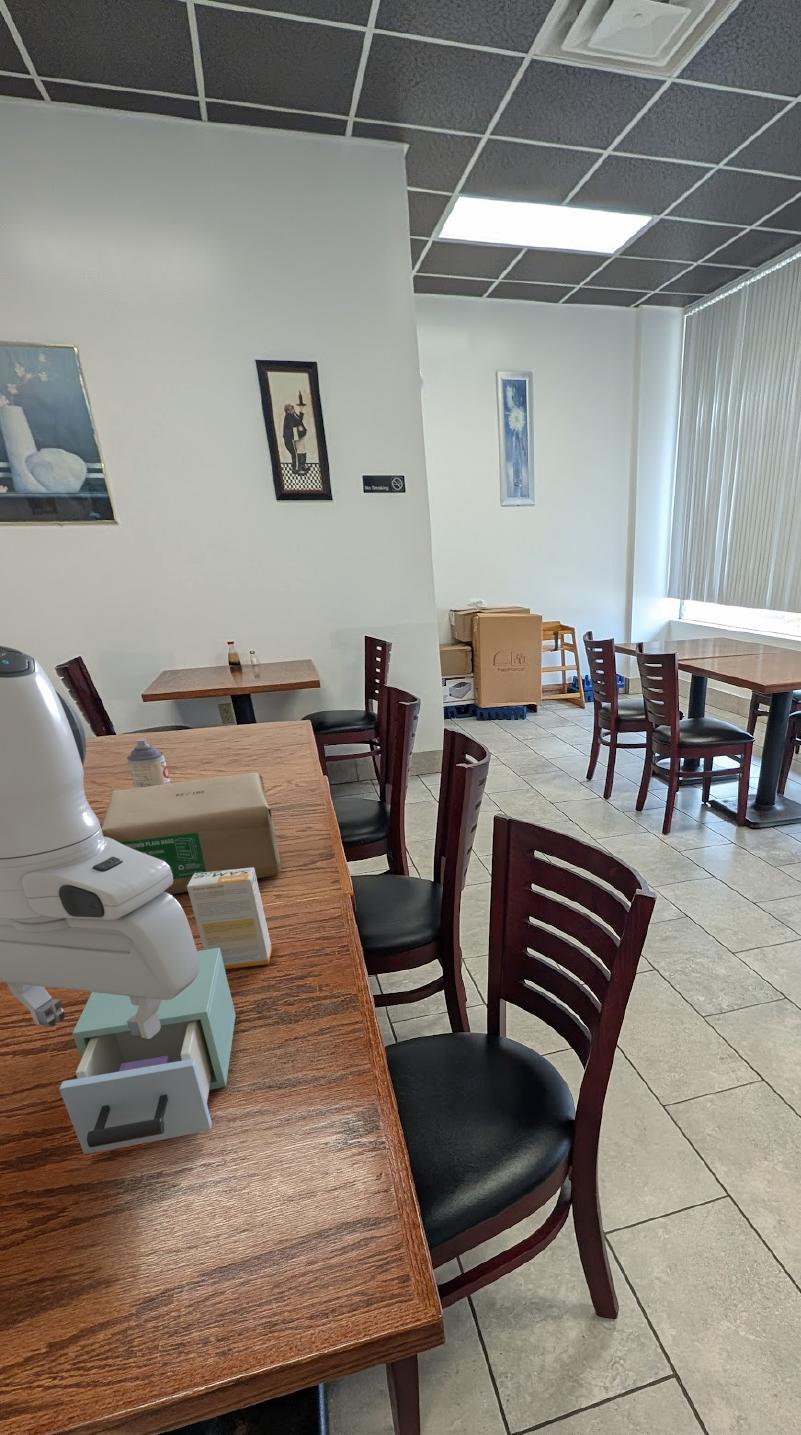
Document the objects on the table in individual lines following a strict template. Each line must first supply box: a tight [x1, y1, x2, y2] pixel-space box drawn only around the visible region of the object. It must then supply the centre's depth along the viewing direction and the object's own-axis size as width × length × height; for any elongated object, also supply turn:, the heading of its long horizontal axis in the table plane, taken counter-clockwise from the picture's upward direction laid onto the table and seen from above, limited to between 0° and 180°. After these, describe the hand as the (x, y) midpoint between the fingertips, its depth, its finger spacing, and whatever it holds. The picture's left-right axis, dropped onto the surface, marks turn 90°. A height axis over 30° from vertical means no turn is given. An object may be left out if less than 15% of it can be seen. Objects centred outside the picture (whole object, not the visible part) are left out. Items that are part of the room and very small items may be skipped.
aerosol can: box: [126, 738, 171, 788], centre depth 152 cm, size 7×7×20 cm
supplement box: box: [187, 868, 273, 970], centre depth 104 cm, size 8×5×13 cm, turn 100°
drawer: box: [59, 1019, 213, 1155], centre depth 74 cm, size 18×11×8 cm, turn 15°
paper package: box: [101, 771, 282, 895], centre depth 136 cm, size 27×26×14 cm
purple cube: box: [119, 1056, 171, 1072], centre depth 74 cm, size 4×4×4 cm
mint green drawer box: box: [71, 948, 237, 1091], centre depth 84 cm, size 15×13×10 cm
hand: (98, 1028), depth 62 cm, fingers open, 8 cm apart
